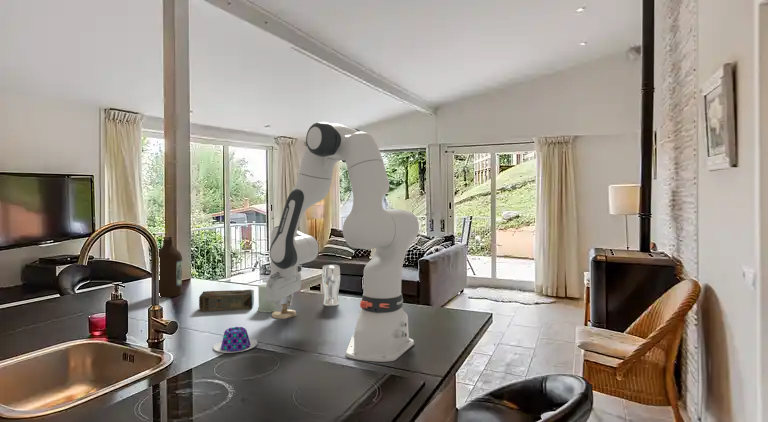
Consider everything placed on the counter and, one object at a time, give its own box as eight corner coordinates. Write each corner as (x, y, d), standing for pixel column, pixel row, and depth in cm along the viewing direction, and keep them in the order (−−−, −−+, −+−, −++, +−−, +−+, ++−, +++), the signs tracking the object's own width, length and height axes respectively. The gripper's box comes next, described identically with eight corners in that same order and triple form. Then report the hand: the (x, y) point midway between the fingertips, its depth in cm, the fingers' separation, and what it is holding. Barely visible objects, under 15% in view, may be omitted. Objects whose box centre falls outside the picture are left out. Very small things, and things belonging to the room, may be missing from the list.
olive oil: (152, 298, 182) (150, 238, 181) (159, 292, 192) (157, 235, 191) (180, 297, 184) (178, 237, 183) (185, 291, 195) (184, 234, 193)
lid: (289, 320, 153) (289, 308, 153) (267, 318, 156) (267, 306, 155) (300, 313, 162) (300, 302, 161) (279, 312, 164) (279, 300, 164)
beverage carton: (252, 309, 166) (252, 292, 166) (198, 313, 162) (197, 295, 162) (254, 304, 174) (254, 287, 174) (202, 307, 170) (201, 290, 170)
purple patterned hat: (206, 347, 128) (206, 329, 127) (245, 337, 136) (245, 320, 136) (224, 358, 119) (223, 339, 119) (265, 347, 127) (264, 329, 127)
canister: (272, 313, 161) (272, 288, 161) (253, 311, 163) (253, 287, 162) (282, 307, 168) (282, 284, 168) (264, 306, 170) (264, 283, 170)
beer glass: (339, 306, 170) (338, 267, 169) (321, 306, 170) (320, 267, 169) (341, 301, 177) (341, 264, 176) (323, 301, 177) (323, 264, 176)
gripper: (277, 276, 147) (278, 317, 148) (303, 265, 167) (304, 302, 167) (260, 275, 148) (261, 316, 149) (288, 264, 168) (288, 300, 169)
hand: (284, 308), depth 158 cm, fingers open, 5 cm apart
